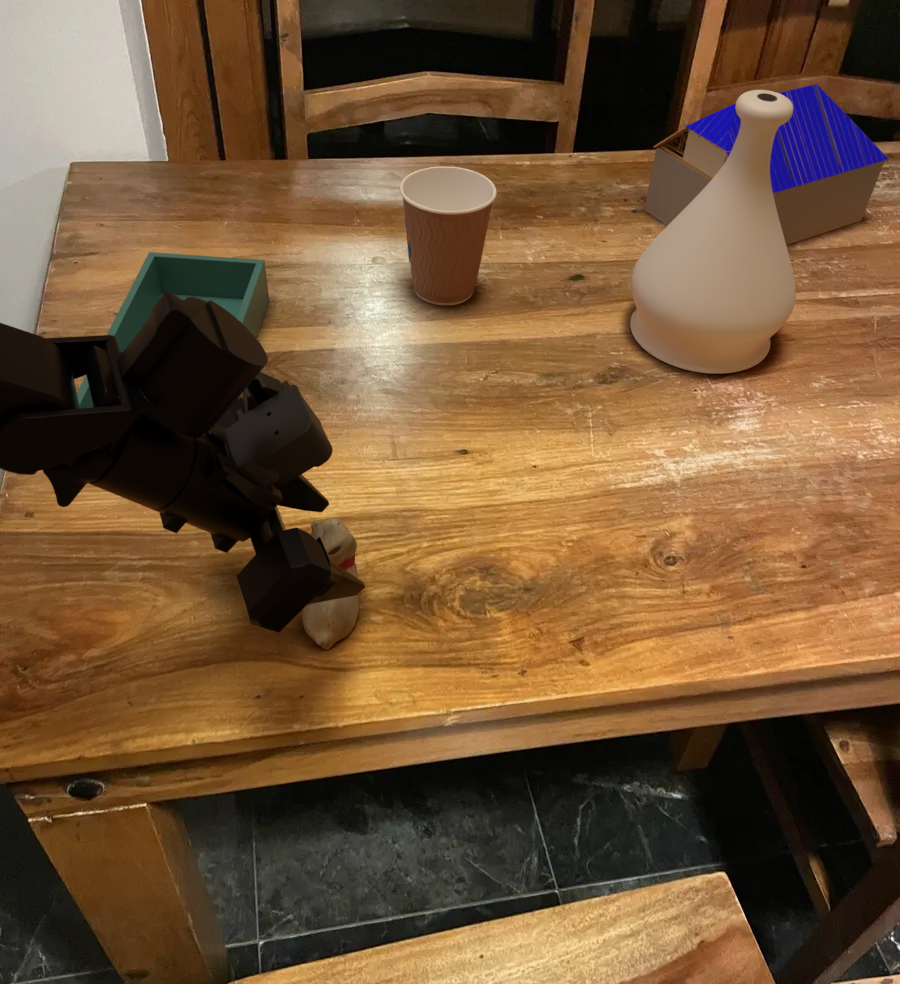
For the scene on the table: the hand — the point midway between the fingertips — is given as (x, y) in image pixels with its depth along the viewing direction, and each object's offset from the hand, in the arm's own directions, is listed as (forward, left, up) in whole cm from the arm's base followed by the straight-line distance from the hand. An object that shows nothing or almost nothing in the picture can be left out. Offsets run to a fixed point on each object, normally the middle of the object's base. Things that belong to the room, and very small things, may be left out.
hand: (342, 546), depth 71 cm
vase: (+44, +34, -7) cm, 56 cm away
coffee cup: (+17, +46, -7) cm, 49 cm away
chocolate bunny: (-1, 0, -7) cm, 7 cm away
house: (+61, +59, -7) cm, 85 cm away
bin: (-13, +33, -7) cm, 36 cm away
